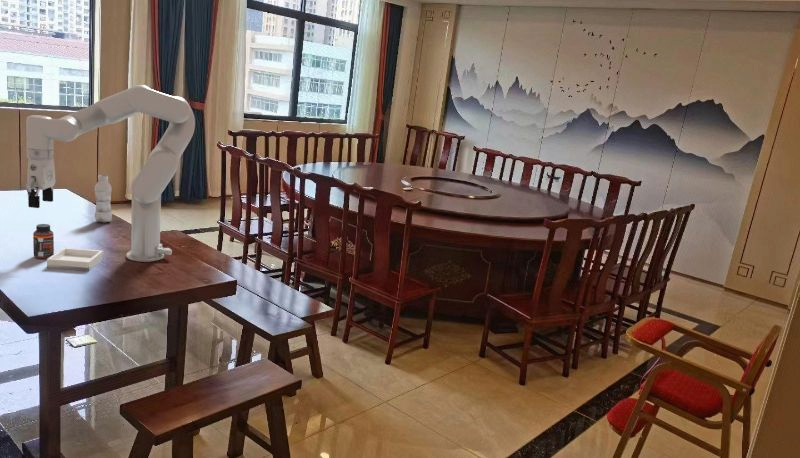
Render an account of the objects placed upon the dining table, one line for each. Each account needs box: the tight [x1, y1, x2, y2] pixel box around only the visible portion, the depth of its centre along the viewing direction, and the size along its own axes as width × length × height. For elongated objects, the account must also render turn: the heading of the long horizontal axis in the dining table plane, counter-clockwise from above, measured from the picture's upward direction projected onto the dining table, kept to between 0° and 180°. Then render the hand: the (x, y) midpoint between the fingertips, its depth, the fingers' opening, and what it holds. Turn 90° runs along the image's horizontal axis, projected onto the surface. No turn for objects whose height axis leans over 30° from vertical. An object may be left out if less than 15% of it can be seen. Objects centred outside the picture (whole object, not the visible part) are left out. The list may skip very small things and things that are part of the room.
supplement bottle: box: [32, 223, 55, 260], centre depth 198 cm, size 6×6×11 cm
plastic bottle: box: [94, 174, 113, 223], centre depth 245 cm, size 6×7×20 cm
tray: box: [46, 247, 105, 272], centre depth 197 cm, size 13×13×3 cm
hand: (41, 204), depth 195 cm, fingers open, 9 cm apart
